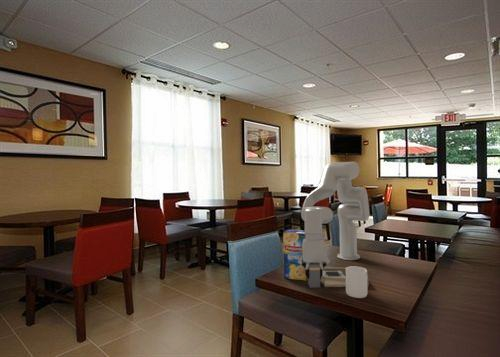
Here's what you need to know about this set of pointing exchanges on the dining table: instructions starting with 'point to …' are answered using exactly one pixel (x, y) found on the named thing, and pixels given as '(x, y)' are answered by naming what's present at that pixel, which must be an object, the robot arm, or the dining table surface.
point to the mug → (356, 281)
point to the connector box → (335, 277)
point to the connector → (314, 275)
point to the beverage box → (293, 254)
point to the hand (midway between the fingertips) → (314, 277)
